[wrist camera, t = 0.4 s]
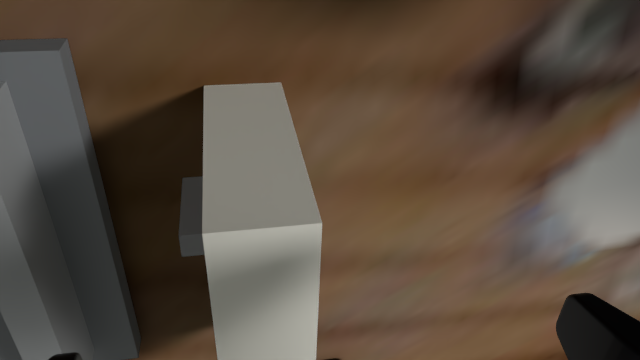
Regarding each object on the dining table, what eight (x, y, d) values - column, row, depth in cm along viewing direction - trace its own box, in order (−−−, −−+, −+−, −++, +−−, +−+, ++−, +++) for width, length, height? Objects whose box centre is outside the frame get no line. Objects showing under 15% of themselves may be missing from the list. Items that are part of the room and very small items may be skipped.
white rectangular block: (283, 303, 28) (310, 475, 20) (210, 311, 27) (212, 491, 20) (280, 81, 20) (321, 223, 13) (182, 86, 20) (168, 236, 12)
